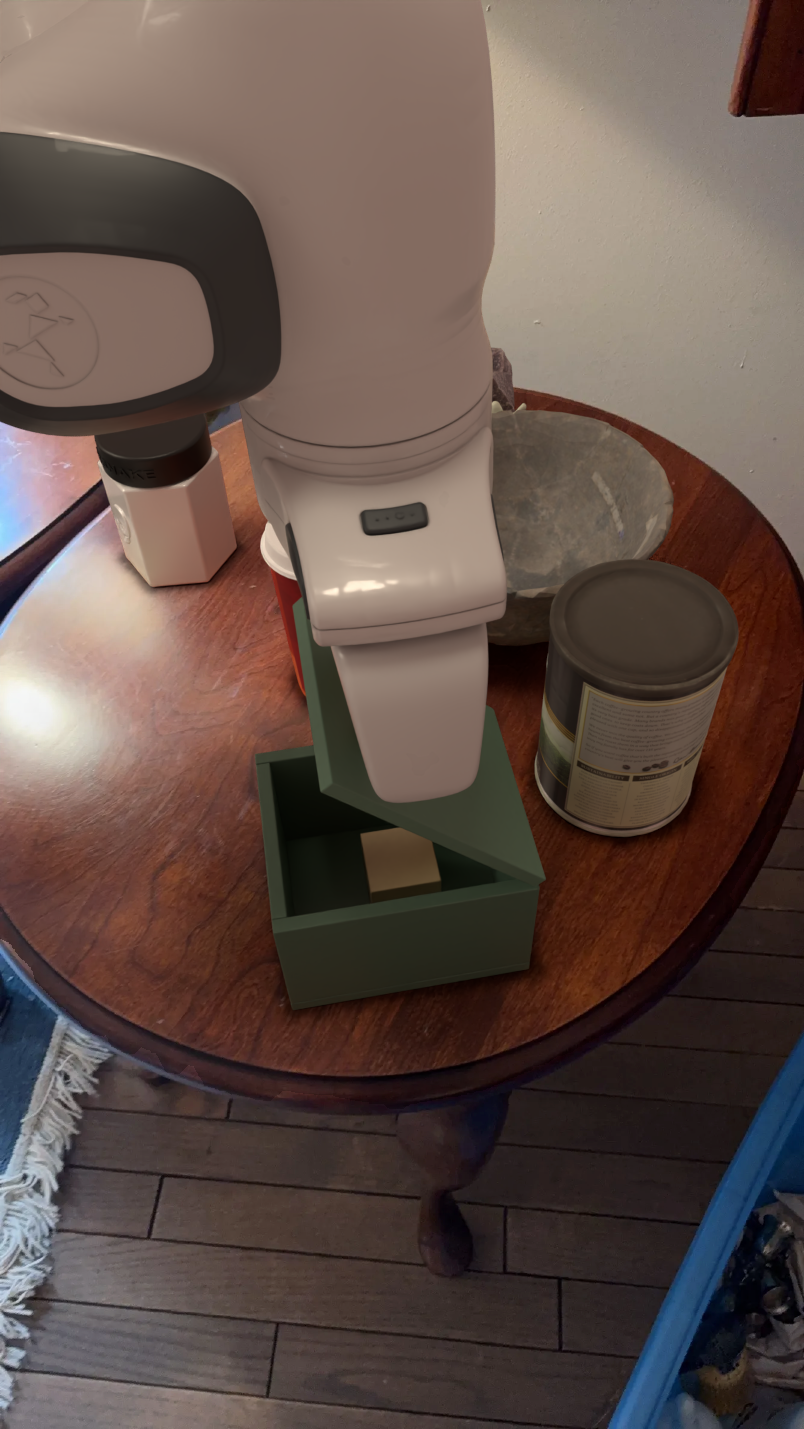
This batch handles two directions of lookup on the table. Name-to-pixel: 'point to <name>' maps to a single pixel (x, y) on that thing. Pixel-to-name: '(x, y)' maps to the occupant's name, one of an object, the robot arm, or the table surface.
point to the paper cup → (284, 591)
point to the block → (399, 865)
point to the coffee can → (630, 693)
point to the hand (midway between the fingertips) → (391, 696)
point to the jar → (168, 500)
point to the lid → (462, 822)
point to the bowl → (567, 509)
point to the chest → (379, 936)
